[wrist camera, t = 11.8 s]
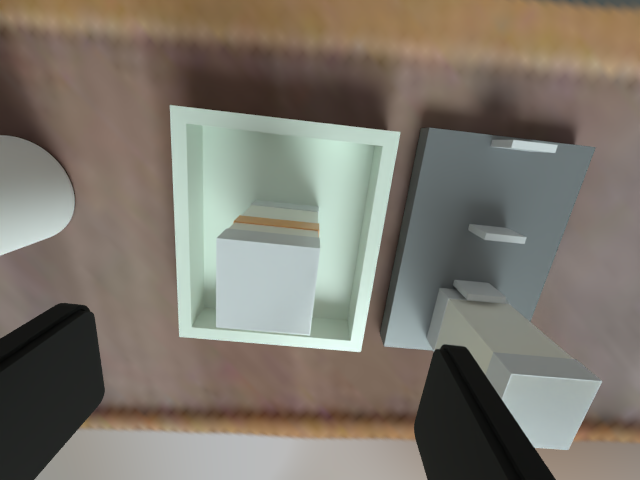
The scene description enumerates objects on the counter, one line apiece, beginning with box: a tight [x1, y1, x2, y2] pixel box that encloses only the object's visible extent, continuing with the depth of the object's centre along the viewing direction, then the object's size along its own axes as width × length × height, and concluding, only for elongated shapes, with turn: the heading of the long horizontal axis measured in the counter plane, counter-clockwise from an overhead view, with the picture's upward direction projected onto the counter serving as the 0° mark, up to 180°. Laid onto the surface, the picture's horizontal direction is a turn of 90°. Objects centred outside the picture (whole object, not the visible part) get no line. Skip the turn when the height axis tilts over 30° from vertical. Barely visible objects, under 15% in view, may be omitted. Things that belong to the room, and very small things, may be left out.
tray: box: [170, 105, 400, 352], centre depth 19 cm, size 12×14×3 cm
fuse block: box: [380, 128, 596, 350], centre depth 20 cm, size 10×15×4 cm, turn 174°
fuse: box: [427, 288, 602, 450], centre depth 18 cm, size 4×4×8 cm
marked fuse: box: [216, 200, 320, 335], centre depth 16 cm, size 4×4×8 cm
